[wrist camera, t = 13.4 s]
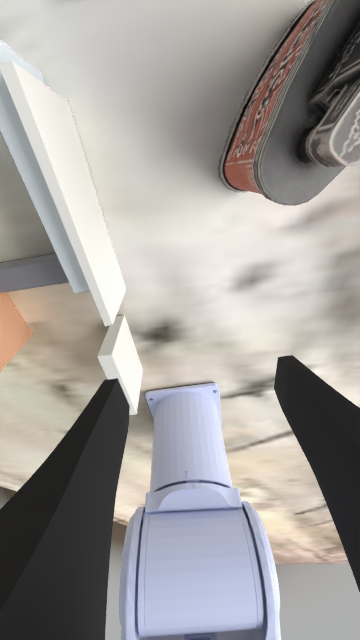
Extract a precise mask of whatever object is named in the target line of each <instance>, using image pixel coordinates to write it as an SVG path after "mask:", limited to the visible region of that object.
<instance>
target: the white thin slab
mask: <svg viewBox="0 0 360 640" xmlns="http://www.w3.org/2000/svg"><path fill="white" fill-rule="evenodd" d="M0 70H1V72H2V75H3V77H4V80H5V82H6V84H7V87H8V89H9V92H10V94H11V97H12V99H13V102H14V104H15V107H16V109H17V112H18V114H19V116H20V119H21V121H22V124H23V126H24V129H25V131H26V134H27V136H28V139H29V141H30V144H31V146H32V148H33V151H34V153H35V156H36V158H37V161H38V163H39V166H40V168H41V171H42V173H43V176H44V178H45V180H46V183H47V185H48V188H49V190H50V193H51V195H52V198H53V200H54V203H55V205H56V208H57V210H58V212H59V215H60V217H61V220H62V222H63V225H64V227H65V230H66V232H67V235H68V237H69V240H70V242H71V245H72V247H73V249H74V252H75V254H76V257H77V259H78V262H79V264H80V267H81V269H82V272H83V274H84V277H85V279H86V281H87V284H88V286H89V289H90V291H91V294H92V296H93V299H94V301H95V304H96V306H97V309H98V311H99V313H100V316H101V318H102V321H103V323H104V326H109V328H108V330H107V333H106V336H105V338H104V341H103V343H102V346H101V348H100V351H99V353H98V356H97V358H98V360H99V362H100V364H101V366H102V368H103V370H104V372H105V375H106V377H107V379H108V380H109V379H116V378H118V380H119V382H120V385H121V387H122V389H123V392H124V394H125V396H126V399H127V401H128V403H129V405H130V411H129V415H135V414H137V409H138V401H139V394H140V387H141V380H142V372H143V369H142V366H141V363H140V360H139V357H138V354H137V351H136V348H135V345H134V342H133V339H132V336H131V333H130V330H129V327H128V324H127V321H126V318H125V315H121V316H116V315H117V312H118V310H119V307H120V304H121V302H122V299H123V296H124V294H125V291H126V287H125V284H124V281H123V278H122V274H121V271H120V268H119V265H118V261H117V258H116V255H115V251H114V248H113V245H112V242H111V238H110V235H109V232H108V229H107V225H106V222H105V219H104V216H103V212H102V209H101V206H100V203H99V199H98V196H97V193H96V190H95V186H94V183H93V180H92V176H91V173H90V170H89V167H88V163H87V160H86V157H85V154H84V150H83V147H82V144H81V141H80V137H79V134H78V131H77V128H76V124H75V121H74V118H73V115H72V111H71V108H70V105H69V101H68V100H66V99H65V98H63V97H62V96H61V95H59V94H58V93H56V92H55V91H54V90H52V89H51V88H49V87H48V86H47V85H45V84H44V83H42V82H41V81H39V80H38V79H37V78H35V77H34V76H32V75H31V74H30V73H28V72H27V71H25V70H24V69H23V68H21V67H20V66H18V65H17V64H16V63H14V62H13V61H10V62H5V63H0Z"/></svg>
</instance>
